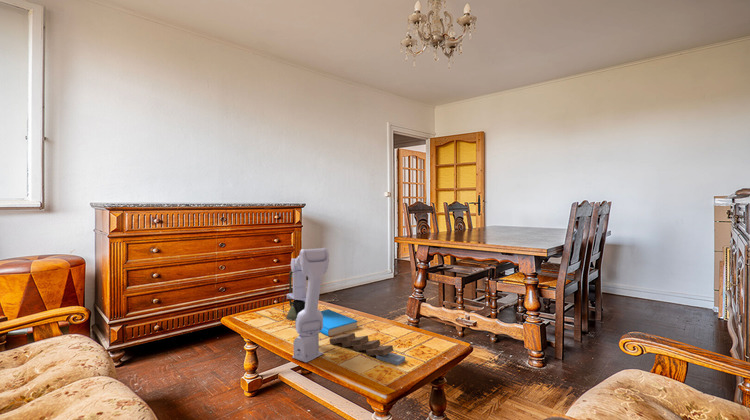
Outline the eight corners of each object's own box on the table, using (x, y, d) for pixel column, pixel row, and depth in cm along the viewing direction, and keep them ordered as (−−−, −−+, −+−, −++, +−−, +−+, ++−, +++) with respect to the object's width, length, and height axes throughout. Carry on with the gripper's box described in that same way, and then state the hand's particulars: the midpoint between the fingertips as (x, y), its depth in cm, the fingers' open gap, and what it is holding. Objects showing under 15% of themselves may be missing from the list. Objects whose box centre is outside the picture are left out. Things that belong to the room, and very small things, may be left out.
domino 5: (383, 355, 139) (405, 362, 134) (376, 360, 135) (398, 366, 130) (383, 350, 139) (405, 356, 134) (375, 354, 135) (398, 361, 130)
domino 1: (337, 340, 154) (355, 337, 149) (330, 344, 149) (348, 341, 144) (336, 335, 154) (354, 332, 149) (329, 339, 150) (347, 336, 145)
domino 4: (375, 351, 142) (393, 350, 135) (367, 355, 138) (384, 355, 131) (374, 346, 142) (392, 345, 135) (365, 350, 139) (383, 349, 132)
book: (328, 309, 188) (358, 319, 169) (328, 317, 188) (358, 328, 169) (299, 315, 176) (328, 328, 158) (299, 324, 177) (328, 337, 158)
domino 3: (361, 346, 147) (380, 344, 141) (354, 351, 143) (373, 349, 137) (360, 341, 147) (379, 339, 142) (352, 346, 143) (372, 343, 137)
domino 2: (350, 343, 150) (368, 340, 145) (343, 347, 146) (361, 344, 141) (349, 338, 151) (367, 335, 145) (341, 342, 146) (360, 339, 141)
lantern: (328, 314, 190) (327, 258, 189) (305, 323, 175) (305, 263, 175) (300, 308, 201) (299, 256, 200) (276, 317, 186) (275, 260, 185)
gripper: (318, 286, 152) (318, 317, 152) (295, 282, 160) (295, 311, 160) (306, 289, 146) (306, 322, 146) (282, 285, 154) (283, 316, 155)
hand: (299, 317), depth 153 cm, fingers closed
